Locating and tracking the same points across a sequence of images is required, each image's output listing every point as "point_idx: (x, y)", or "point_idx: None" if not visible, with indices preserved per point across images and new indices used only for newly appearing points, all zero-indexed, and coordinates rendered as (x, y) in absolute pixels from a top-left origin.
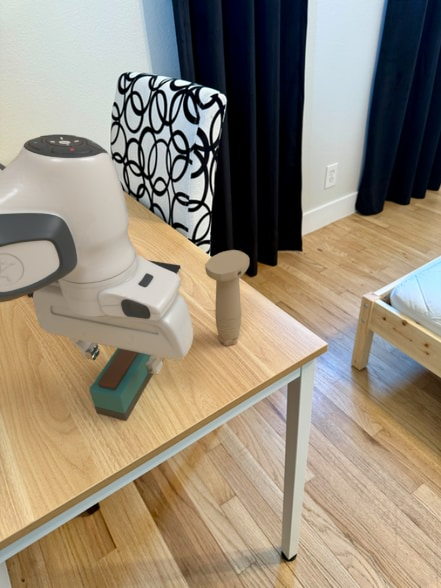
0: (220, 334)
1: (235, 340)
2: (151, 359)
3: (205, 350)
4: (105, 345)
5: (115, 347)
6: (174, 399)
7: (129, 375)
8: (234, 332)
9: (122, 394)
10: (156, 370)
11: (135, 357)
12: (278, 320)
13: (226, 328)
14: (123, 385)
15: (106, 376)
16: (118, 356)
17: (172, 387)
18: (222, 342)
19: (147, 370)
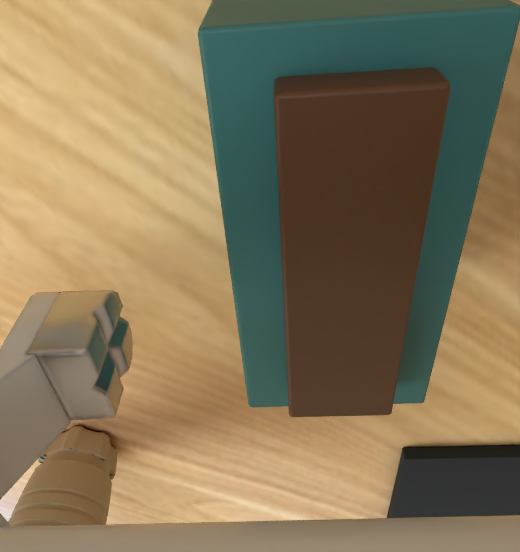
0: (77, 472)
1: (42, 453)
2: (82, 393)
3: (128, 398)
4: (460, 525)
5: (304, 532)
6: (82, 189)
7: (250, 235)
8: (21, 494)
9: (205, 68)
10: (15, 324)
11: (285, 351)
12: (6, 508)
13: (30, 514)
14: (241, 147)
15: (397, 172)
16: (386, 337)
17: (133, 239)
18: (90, 434)
19: (99, 305)
